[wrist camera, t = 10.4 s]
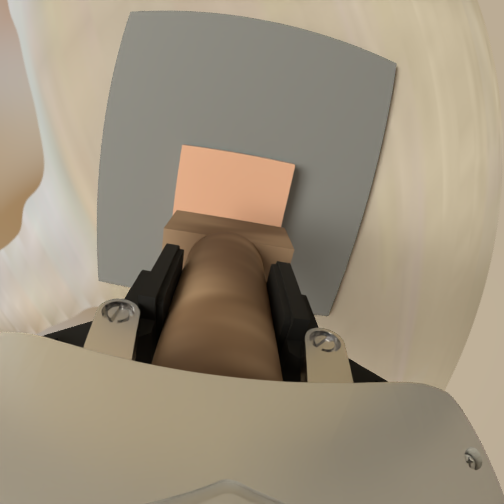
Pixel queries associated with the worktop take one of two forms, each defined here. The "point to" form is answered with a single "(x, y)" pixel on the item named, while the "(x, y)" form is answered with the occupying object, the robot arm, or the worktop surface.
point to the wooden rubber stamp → (222, 297)
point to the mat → (240, 133)
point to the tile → (232, 185)
